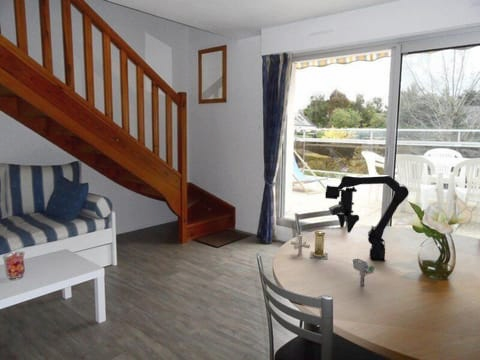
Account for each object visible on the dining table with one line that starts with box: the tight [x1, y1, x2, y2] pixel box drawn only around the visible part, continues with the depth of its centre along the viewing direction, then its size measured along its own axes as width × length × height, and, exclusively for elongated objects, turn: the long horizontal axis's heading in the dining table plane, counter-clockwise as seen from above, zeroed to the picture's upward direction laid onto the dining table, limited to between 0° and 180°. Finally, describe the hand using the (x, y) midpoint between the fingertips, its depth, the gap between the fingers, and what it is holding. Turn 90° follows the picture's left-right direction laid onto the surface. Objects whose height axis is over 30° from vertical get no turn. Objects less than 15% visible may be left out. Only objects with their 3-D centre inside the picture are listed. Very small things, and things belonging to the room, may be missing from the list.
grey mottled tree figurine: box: [352, 258, 375, 287], centre depth 150 cm, size 3×10×10 cm, turn 27°
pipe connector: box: [290, 234, 311, 256], centre depth 187 cm, size 10×10×10 cm
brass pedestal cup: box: [312, 230, 326, 257], centre depth 184 cm, size 6×6×12 cm
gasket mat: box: [309, 251, 329, 260], centre depth 185 cm, size 9×9×1 cm
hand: (345, 230), depth 185 cm, fingers open, 9 cm apart
